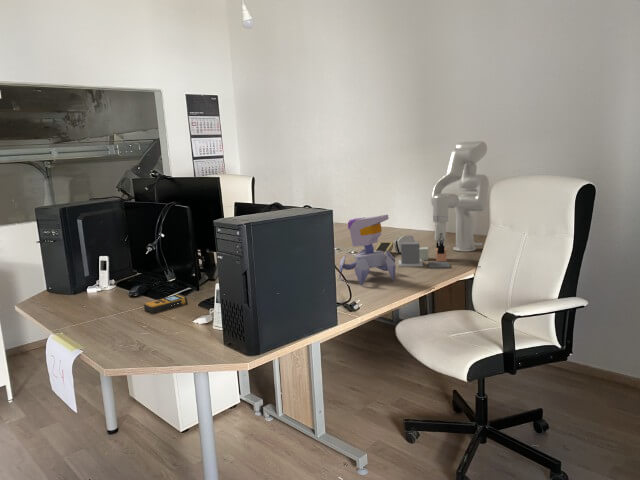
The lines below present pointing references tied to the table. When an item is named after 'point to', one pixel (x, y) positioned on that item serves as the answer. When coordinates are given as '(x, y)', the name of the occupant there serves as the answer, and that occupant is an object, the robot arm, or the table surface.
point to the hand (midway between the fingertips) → (440, 251)
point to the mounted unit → (410, 255)
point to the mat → (439, 264)
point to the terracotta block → (440, 255)
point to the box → (384, 247)
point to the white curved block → (402, 239)
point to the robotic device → (368, 248)
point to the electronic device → (165, 303)
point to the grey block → (423, 253)
